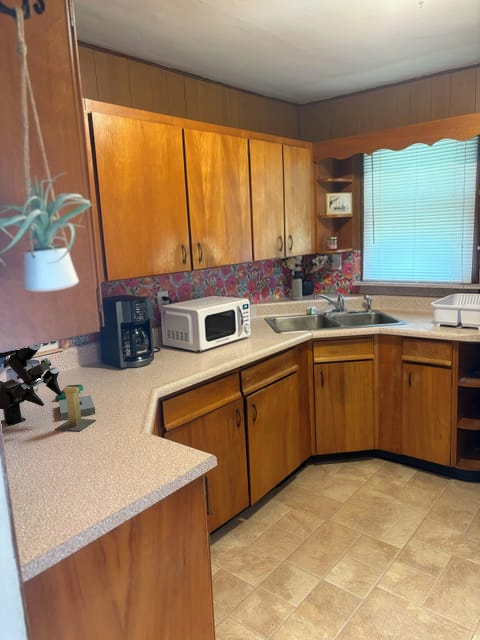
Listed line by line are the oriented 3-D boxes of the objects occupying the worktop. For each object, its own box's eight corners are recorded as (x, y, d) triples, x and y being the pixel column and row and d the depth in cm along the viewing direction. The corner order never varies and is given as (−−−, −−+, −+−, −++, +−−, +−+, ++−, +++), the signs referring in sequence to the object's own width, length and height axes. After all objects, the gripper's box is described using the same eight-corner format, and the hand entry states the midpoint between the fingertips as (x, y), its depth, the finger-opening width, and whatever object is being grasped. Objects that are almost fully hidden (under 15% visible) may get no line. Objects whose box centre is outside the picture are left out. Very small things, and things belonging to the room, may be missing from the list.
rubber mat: (54, 430, 166) (54, 429, 166) (71, 419, 175) (71, 418, 175) (79, 431, 163) (79, 430, 163) (95, 420, 173) (95, 419, 173)
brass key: (66, 425, 169) (62, 388, 166) (72, 422, 171) (67, 386, 169) (79, 426, 167) (74, 389, 165) (84, 423, 170) (80, 386, 168)
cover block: (61, 419, 176) (60, 413, 175) (59, 406, 190) (58, 400, 190) (95, 413, 180) (94, 407, 180) (90, 401, 195) (90, 395, 194)
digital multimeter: (55, 402, 197) (54, 395, 196) (67, 390, 212) (66, 384, 211) (73, 401, 197) (72, 394, 196) (83, 390, 212) (83, 383, 211)
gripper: (13, 363, 159) (45, 397, 158) (52, 346, 176) (80, 377, 175) (-2, 383, 164) (29, 416, 163) (37, 364, 181) (65, 395, 180)
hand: (52, 400), depth 170 cm, fingers open, 9 cm apart
